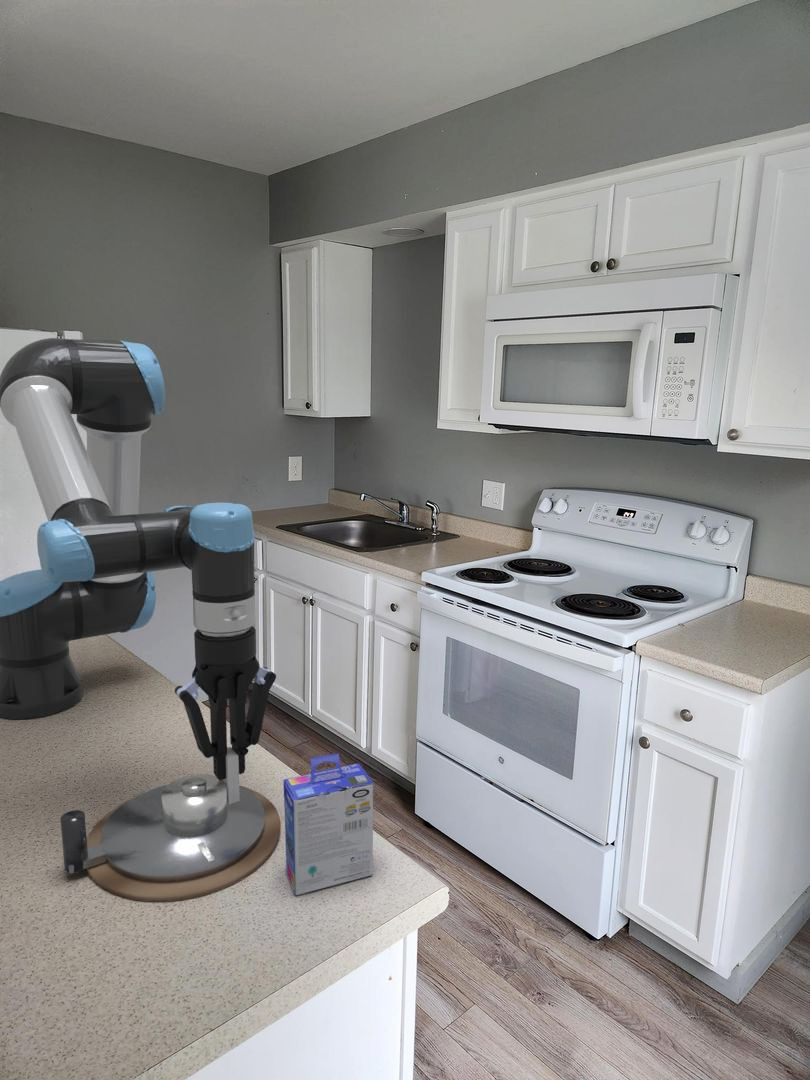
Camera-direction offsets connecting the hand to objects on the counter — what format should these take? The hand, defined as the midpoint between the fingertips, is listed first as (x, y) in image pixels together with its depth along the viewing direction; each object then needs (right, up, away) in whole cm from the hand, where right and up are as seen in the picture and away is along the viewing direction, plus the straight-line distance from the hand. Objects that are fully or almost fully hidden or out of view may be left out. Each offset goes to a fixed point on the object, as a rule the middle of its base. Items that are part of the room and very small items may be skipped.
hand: (230, 797), depth 96 cm
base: (-5, -4, -3) cm, 7 cm away
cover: (-4, -2, -2) cm, 5 cm away
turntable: (-7, -3, -4) cm, 9 cm away
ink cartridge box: (+14, -6, -9) cm, 17 cm away
